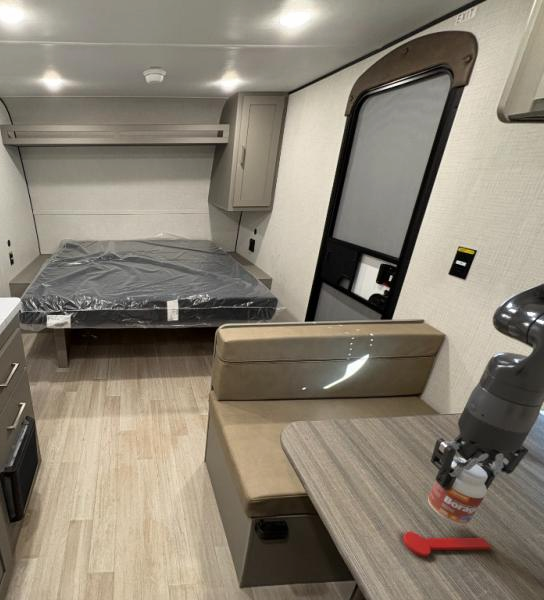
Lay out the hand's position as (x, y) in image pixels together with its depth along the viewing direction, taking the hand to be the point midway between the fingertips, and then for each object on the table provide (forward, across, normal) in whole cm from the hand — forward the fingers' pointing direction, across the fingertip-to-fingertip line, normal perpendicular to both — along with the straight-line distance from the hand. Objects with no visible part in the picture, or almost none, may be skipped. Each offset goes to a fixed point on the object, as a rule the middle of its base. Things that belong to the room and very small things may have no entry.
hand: (460, 485), depth 59 cm
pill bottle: (+7, 0, 0) cm, 7 cm away
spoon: (+10, -3, -4) cm, 11 cm away
